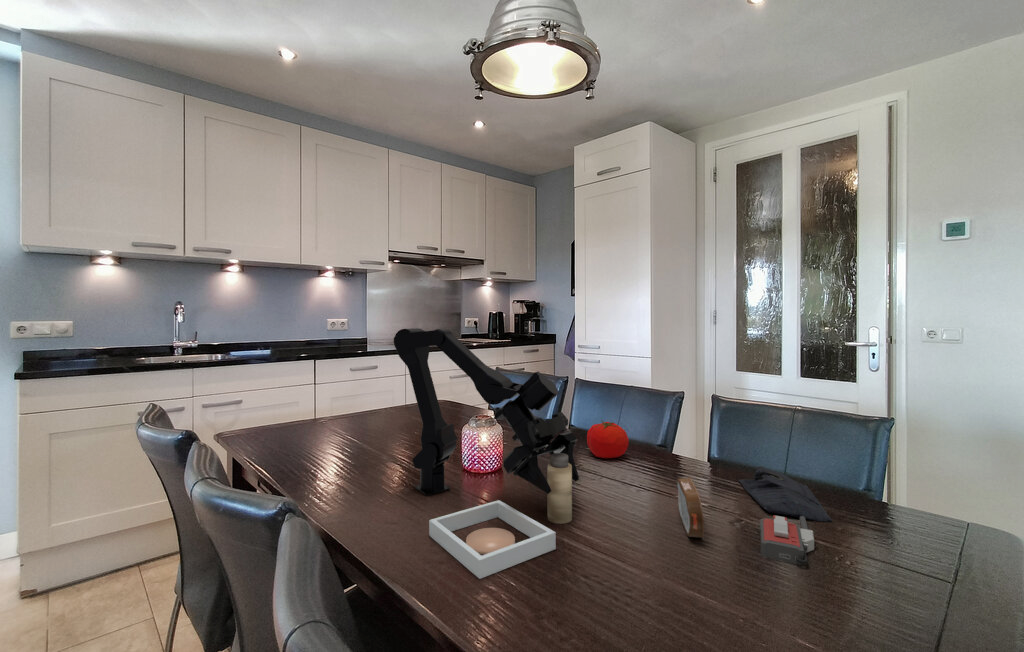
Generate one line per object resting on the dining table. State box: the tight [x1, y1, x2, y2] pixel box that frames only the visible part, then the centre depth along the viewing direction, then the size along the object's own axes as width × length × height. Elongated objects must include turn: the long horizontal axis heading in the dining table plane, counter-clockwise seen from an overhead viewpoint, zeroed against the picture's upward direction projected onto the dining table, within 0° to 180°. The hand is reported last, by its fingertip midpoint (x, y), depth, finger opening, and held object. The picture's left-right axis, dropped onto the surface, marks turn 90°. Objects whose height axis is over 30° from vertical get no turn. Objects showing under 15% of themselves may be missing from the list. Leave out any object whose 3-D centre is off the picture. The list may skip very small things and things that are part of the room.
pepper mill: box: [546, 453, 573, 525], centre depth 96 cm, size 5×5×13 cm
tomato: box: [586, 419, 630, 459], centre depth 137 cm, size 11×13×10 cm
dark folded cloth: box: [738, 465, 833, 523], centre depth 105 cm, size 15×22×5 cm
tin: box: [676, 477, 705, 539], centre depth 92 cm, size 15×3×8 cm, turn 168°
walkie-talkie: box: [758, 515, 815, 566], centre depth 86 cm, size 9×4×20 cm
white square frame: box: [428, 499, 557, 580], centre depth 86 cm, size 18×16×3 cm
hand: (564, 486), depth 95 cm, fingers open, 9 cm apart
